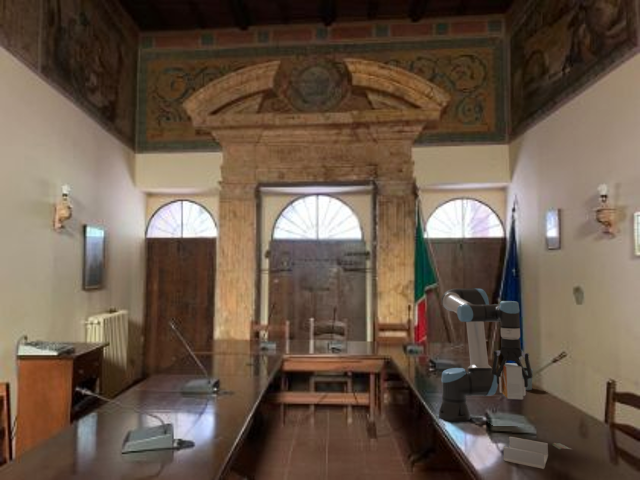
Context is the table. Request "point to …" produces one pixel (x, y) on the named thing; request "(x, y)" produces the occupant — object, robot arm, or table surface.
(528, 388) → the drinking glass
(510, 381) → the small box
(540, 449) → the end holder
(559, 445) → the map
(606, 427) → the table surface
